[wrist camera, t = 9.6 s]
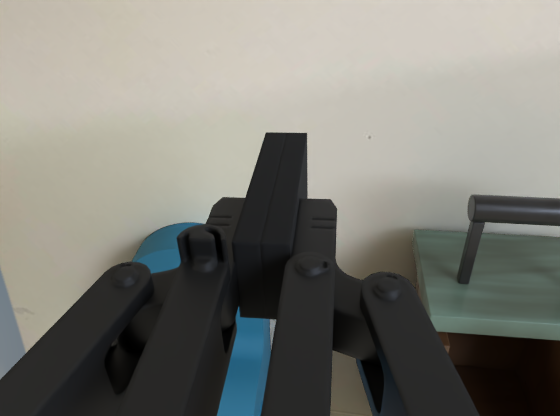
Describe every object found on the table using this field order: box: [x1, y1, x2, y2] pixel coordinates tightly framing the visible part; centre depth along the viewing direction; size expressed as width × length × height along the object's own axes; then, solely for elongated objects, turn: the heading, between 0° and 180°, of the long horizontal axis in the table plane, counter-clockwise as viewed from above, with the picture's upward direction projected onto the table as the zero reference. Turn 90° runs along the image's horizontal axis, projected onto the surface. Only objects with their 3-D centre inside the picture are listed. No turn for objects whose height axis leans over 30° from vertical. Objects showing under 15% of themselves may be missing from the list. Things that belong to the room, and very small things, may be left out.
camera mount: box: [132, 223, 271, 416], centre depth 36 cm, size 18×10×10 cm, turn 1°
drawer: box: [412, 195, 560, 416], centre depth 31 cm, size 18×10×8 cm, turn 1°
